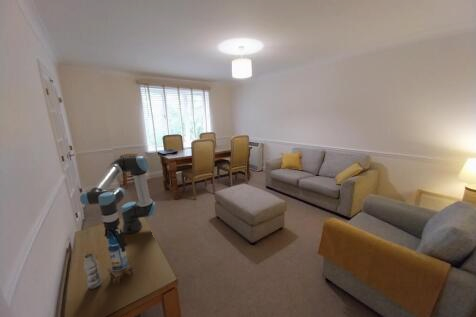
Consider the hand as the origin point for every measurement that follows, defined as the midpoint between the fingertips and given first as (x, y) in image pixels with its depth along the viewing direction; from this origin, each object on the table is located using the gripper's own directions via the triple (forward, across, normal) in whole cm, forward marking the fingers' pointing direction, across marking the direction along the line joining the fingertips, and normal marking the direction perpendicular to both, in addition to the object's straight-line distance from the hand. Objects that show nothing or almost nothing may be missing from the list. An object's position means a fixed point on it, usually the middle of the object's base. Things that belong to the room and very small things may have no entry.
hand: (117, 251), depth 116 cm
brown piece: (+17, 0, 0) cm, 17 cm away
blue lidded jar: (+10, 0, 0) cm, 10 cm away
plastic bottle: (+17, -6, -12) cm, 22 cm away
